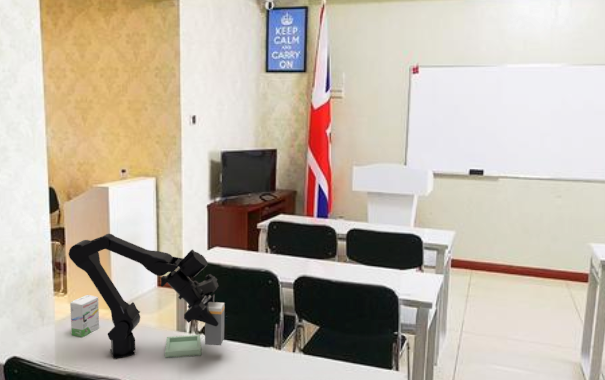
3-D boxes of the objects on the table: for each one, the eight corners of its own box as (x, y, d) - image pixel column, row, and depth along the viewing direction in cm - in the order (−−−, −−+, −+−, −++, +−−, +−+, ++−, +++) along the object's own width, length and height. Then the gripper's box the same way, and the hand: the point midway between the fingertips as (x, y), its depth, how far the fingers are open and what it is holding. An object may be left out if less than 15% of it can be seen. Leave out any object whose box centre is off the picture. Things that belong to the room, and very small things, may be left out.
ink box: (82, 337, 173) (81, 304, 171) (70, 335, 174) (69, 302, 173) (100, 327, 181) (99, 296, 179) (88, 325, 182) (87, 294, 181)
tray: (165, 358, 160) (165, 352, 160) (166, 342, 171) (166, 336, 171) (200, 355, 163) (200, 349, 163) (200, 340, 173) (200, 334, 173)
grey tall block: (204, 344, 159) (204, 307, 157) (208, 337, 164) (208, 301, 162) (221, 345, 159) (221, 308, 157) (224, 338, 164) (224, 302, 162)
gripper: (194, 279, 149) (232, 317, 150) (209, 261, 167) (242, 294, 168) (168, 303, 150) (205, 341, 151) (185, 282, 169) (218, 316, 170)
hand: (219, 321), depth 160 cm, fingers closed on grey tall block, 5 cm apart
